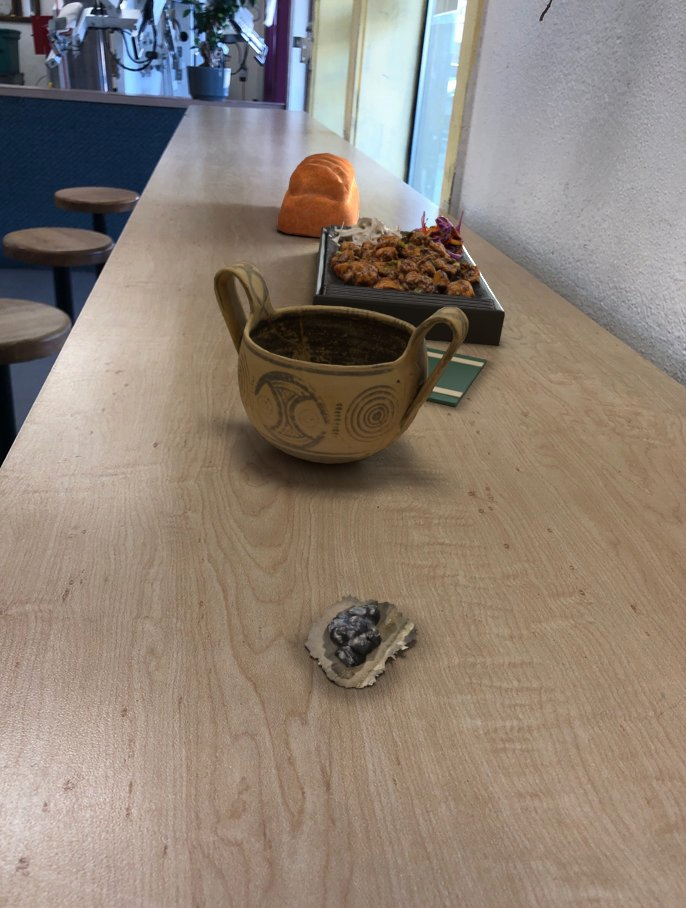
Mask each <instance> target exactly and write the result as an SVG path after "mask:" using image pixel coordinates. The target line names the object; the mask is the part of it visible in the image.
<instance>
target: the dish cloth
mask: <svg viewBox="0 0 686 908" xmlns="http://www.w3.org/2000/svg"><path fill="white" fill-rule="evenodd" d="M426 348H427V354H428V377H429V375H430V374H431V372H432V371H433V369H434V368H435V366H436V365H437V364H438V362H439V361H440V359H441V358H442V356H443V355H444V353H445V352H446V351H447V350H442V349H436V348H430V347H427V346H426ZM487 361H488V360H487V359H486V358H480V357H476V356H475V357H474V356H471V355H467V354H466V355H465V354H460V353H457V352H456V353H455V355H454V356H453V358H452V359H451V361H450V362H449V364H448V365H447V367H446V369H445V370H444V372H443V373H442V375H441V377H440V378H439V380H438V382H437V384H436V386H435V387H434V389H433V391H432V393H431V395H430V396H429V397H428V399H427V400H426V401H428V402H432V403H435V404H436V403H437V404H440V405H445V406H450V407H456V406H457V405H458V404H459V402H460V401H461V399H462V398H463V396H464V395H465V393H466V392H467V391H468V389H469V388H470V386H471V385H472V384H473V382H474V381H475V379H476V378H477V377H478V375H479V374H480V372H481V371H482V369H484V367H485V365H486V364H487Z"/></svg>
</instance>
